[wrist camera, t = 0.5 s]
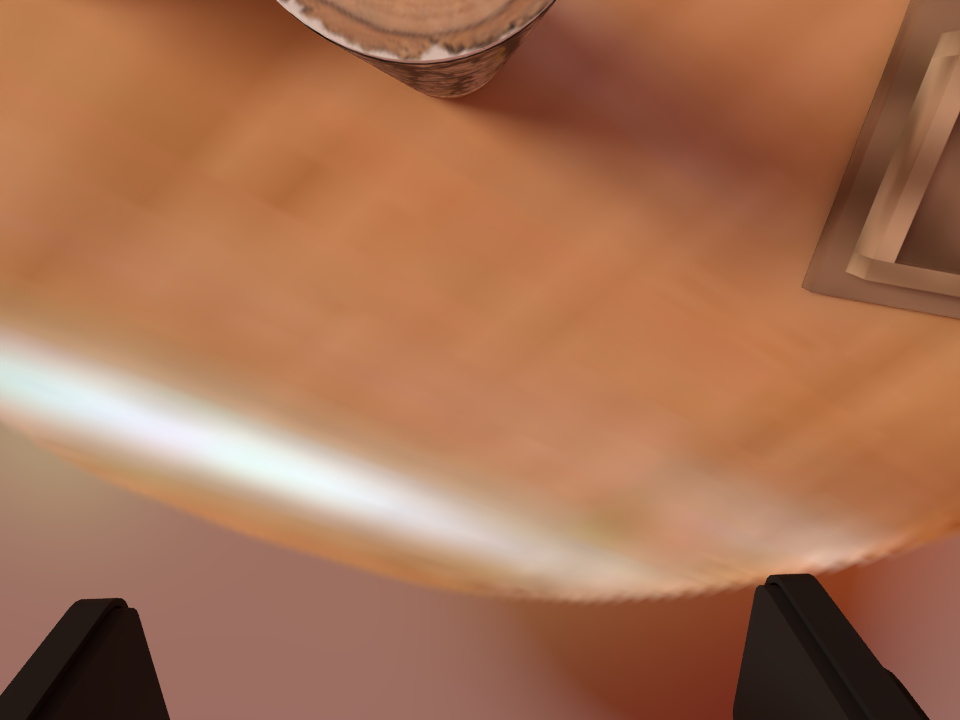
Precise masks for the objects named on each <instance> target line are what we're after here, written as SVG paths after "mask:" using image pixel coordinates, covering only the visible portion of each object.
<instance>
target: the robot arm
mask: <svg viewBox="0 0 960 720" xmlns="http://www.w3.org/2000/svg"><path fill="white" fill-rule="evenodd" d="M0 720H170V718H169V715H168V711H167V708H166V705H165V702H164V698H163V695H162V692H161V688H160V685H159V681H158V678H157V675H156V671H155V668H154V665H153V661H152V658H151V655H150V651H149V648H148V645H147V641H146V638H145V635H144V631H143V628H142V625H141V621H140V618H139V615H138V612H137V610H136V609H134V608H128V605H127V603H126V601H124V600H123V599H122V598H105V599H81V600H79V601H77V602H75V603H74V604H73V605H72V606H71V607H70V608H69V609H68V610H67V612H66V613H65V614H64V616H63V617H62V618H61V619H60V621H59V622H58V623H57V624H56V626H55V627H54V628H53V629H52V631H51V632H50V633H49V635H48V636H47V637H46V638H45V640H44V641H43V642H42V643H41V645H40V646H39V647H38V648H37V650H36V651H35V652H34V654H33V655H32V656H31V657H30V659H29V660H28V661H27V662H26V664H25V665H24V666H23V668H22V669H21V670H20V671H19V673H18V674H17V675H16V676H15V678H14V679H13V680H12V681H11V683H10V684H9V685H8V687H7V688H6V689H5V691H4V692H3V693H2V694H1V695H0ZM733 720H930V719H929V718H928V717H927V715H926V714H925V713H924V711H923V710H922V709H921V708H920V706H919V705H918V704H917V702H916V701H915V700H914V699H913V697H912V696H911V695H910V693H909V692H908V691H907V689H906V688H905V687H904V686H903V684H902V683H901V682H900V681H899V680H898V679H897V677H896V676H895V675H894V674H893V673H892V672H890V671H889V670H887V669H885V668H884V667H883V666H882V665H881V664H880V663H879V661H878V660H877V659H876V657H875V656H874V655H873V653H872V652H871V650H870V649H869V648H868V647H867V645H866V644H865V643H864V642H863V640H862V639H861V637H860V636H859V635H858V633H857V632H856V631H855V629H854V628H853V627H852V625H851V624H850V623H849V621H848V620H847V619H846V617H845V616H844V615H843V614H842V612H841V611H840V609H839V608H838V607H837V605H836V604H835V603H834V601H833V600H832V599H831V597H830V596H829V595H828V593H827V592H826V591H825V589H824V588H823V587H822V585H821V584H820V583H819V582H818V580H817V579H816V578H815V577H814V576H812V575H810V574H782V575H770V576H769V577H768V578H767V580H766V583H765V585H760V586H758V587H757V588H756V591H755V595H754V601H753V605H752V610H751V616H750V621H749V627H748V632H747V637H746V642H745V648H744V653H743V658H742V663H741V669H740V674H739V679H738V685H737V691H736V695H735V701H734V706H733Z"/></svg>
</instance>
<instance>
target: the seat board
mask: <svg viewBox="0 0 960 720" xmlns="http://www.w3.org/2000/svg"><path fill="white" fill-rule="evenodd" d="M802 288H804V289H806V290H808V291H810V292H814V293H819V294H825V295H831V296H836V297H842V298H847V299H853V300H858V301H864V302H870V303H875V304H881V305H886V306H892V307H898V308H903V309H909V310H914V311H920V312H925V313H931V314H937V315H942V316H948V317H953V318H959V319H960V0H911V2H910V4H909V7H908V10H907V12H906V15H905V17H904V20H903V23H902V25H901V28H900V30H899V33H898V36H897V38H896V41H895V44H894V46H893V49H892V51H891V54H890V57H889V59H888V62H887V64H886V67H885V70H884V72H883V75H882V78H881V80H880V83H879V85H878V88H877V91H876V93H875V96H874V98H873V101H872V104H871V106H870V109H869V111H868V114H867V117H866V119H865V122H864V125H863V127H862V130H861V132H860V135H859V138H858V140H857V143H856V145H855V148H854V151H853V153H852V156H851V159H850V161H849V164H848V166H847V169H846V172H845V174H844V177H843V179H842V182H841V185H840V187H839V190H838V192H837V195H836V198H835V200H834V203H833V206H832V208H831V211H830V213H829V216H828V219H827V221H826V224H825V226H824V229H823V232H822V234H821V237H820V240H819V242H818V245H817V247H816V250H815V253H814V255H813V258H812V260H811V263H810V266H809V268H808V271H807V273H806V276H805V279H804V281H803V284H802Z"/></svg>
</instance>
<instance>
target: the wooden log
mask: <svg viewBox="0 0 960 720" xmlns="http://www.w3.org/2000/svg"><path fill="white" fill-rule="evenodd" d="M277 1H278V2H279V3H280V4H281V5H282V6H283V7H284V8H285V9H286V10H287V11H289V12H290V13H291V14H292V15H293V16H294V17H296V18H297V19H298V20H299V21H301V22H302V23H303V24H304V25H306V26H307V27H308V28H310V29H311V30H313V31H314V32H316V33H317V34H319V35H321V36H322V37H324V38H325V39H327V40H329V41H330V42H332V43H334V44H336V45H337V46H339V47H341V48H343V49H344V50H346V51H348V52H350V53H352V54H353V55H355V56H357V57H359V58H360V59H362V60H364V61H366V62H367V63H369V64H371V65H373V66H374V67H376V68H378V69H380V70H382V71H383V72H385V73H387V74H389V75H390V76H392V77H394V78H396V79H397V80H399V81H401V82H403V83H404V84H406V85H408V86H410V87H412V88H413V89H415V90H417V91H419V92H422V93H424V94H427V95H429V96H433V97H437V98H457V97H462V96H465V95H468V94H471V93H473V92H475V91H477V90H478V89H480V88H481V87H483V86H484V85H485V84H487V83H488V82H489V81H490V80H491V79H492V78H493V77H494V76H495V75H496V73H497V72H498V71H499V70H500V69H501V67H502V66H503V65H504V64H505V63H506V61H507V60H508V59H509V58H510V56H511V55H512V54H513V53H514V51H515V50H516V49H517V48H518V47H519V45H520V44H521V43H522V42H523V40H524V39H525V38H526V37H527V36H528V34H529V33H530V32H531V31H532V29H533V28H534V27H535V26H536V24H537V23H538V22H539V21H540V20H541V18H542V17H543V16H544V15H545V13H546V12H547V11H548V10H549V8H550V7H551V6H552V5H553V4H554V2H555V1H556V0H277Z"/></svg>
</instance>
